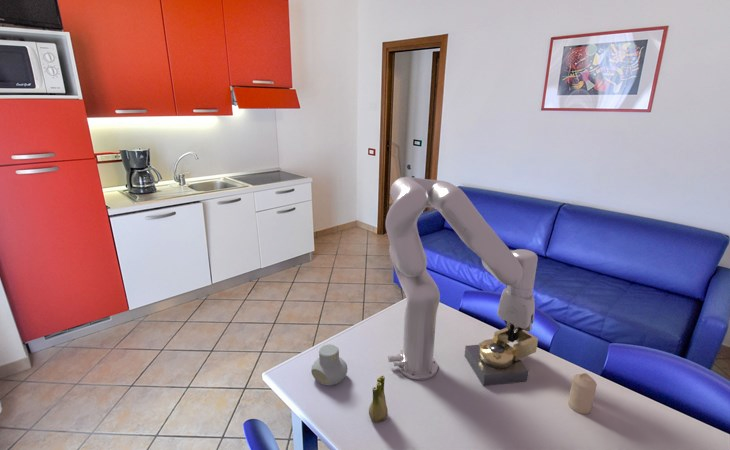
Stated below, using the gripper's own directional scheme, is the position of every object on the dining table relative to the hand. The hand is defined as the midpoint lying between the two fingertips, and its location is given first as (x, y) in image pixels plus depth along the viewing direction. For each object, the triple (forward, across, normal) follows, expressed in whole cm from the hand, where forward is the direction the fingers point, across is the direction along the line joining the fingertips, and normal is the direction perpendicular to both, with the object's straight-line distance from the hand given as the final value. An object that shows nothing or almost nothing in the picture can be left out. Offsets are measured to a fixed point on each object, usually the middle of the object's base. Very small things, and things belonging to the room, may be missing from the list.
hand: (512, 339), depth 119 cm
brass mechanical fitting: (+3, 0, -4) cm, 5 cm away
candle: (+7, +23, -4) cm, 25 cm away
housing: (+7, -1, -8) cm, 11 cm away
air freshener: (+7, -30, -51) cm, 60 cm away
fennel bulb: (+7, -9, -50) cm, 51 cm away
